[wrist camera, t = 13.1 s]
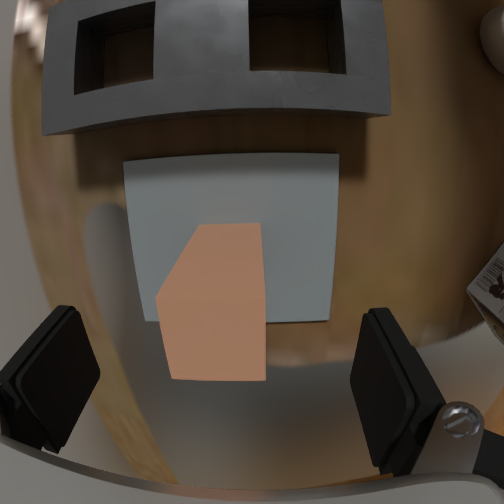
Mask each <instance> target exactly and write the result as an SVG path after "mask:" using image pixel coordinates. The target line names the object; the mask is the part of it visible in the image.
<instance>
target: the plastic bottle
mask: <svg viewBox="0 0 504 504" xmlns="http://www.w3.org/2000/svg"><path fill="white" fill-rule="evenodd" d="M479 34H480V41H481V45H482V48H483V50H484V52H485V54H486V56H487V58H488V60H489V61H490V62H491V64H492V65H493V66H494V67H495V68H496V69H497V70H498V71H499V72H500V73H502V74H503V75H504V6H499V7H495V8H493V9H492V10H491V11H489V12H488V13H487V14H485V15H484V17H483V18H482V21H481V24H480V30H479Z"/></svg>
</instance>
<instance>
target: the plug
mask: <svg viewBox="0 0 504 504" xmlns="http://www.w3.org/2000/svg"><path fill="white" fill-rule="evenodd" d="M155 300H156V306H157V311H158V317H159V322H160V327H161V332H162V337H163V342H164V346H165V351H166V356H167V359H168V364H169V368H170V373H171V377H172V379H185V380H212V381H265V380H266V296H265V281H264V266H263V251H262V237H261V223H242V224H205V225H199V226H198V227H197V229H196V230H195V232H194V234H193V235H192V237H191V238H190V240H189V242H188V243H187V245H186V247H185V248H184V250H183V252H182V253H181V255H180V257H179V258H178V260H177V261H176V263H175V265H174V267H173V268H172V270H171V272H170V273H169V275H168V277H167V278H166V280H165V282H164V283H163V285H162V287H161V289H160V290H159V292H158V294H157V296H156V297H155Z"/></svg>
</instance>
